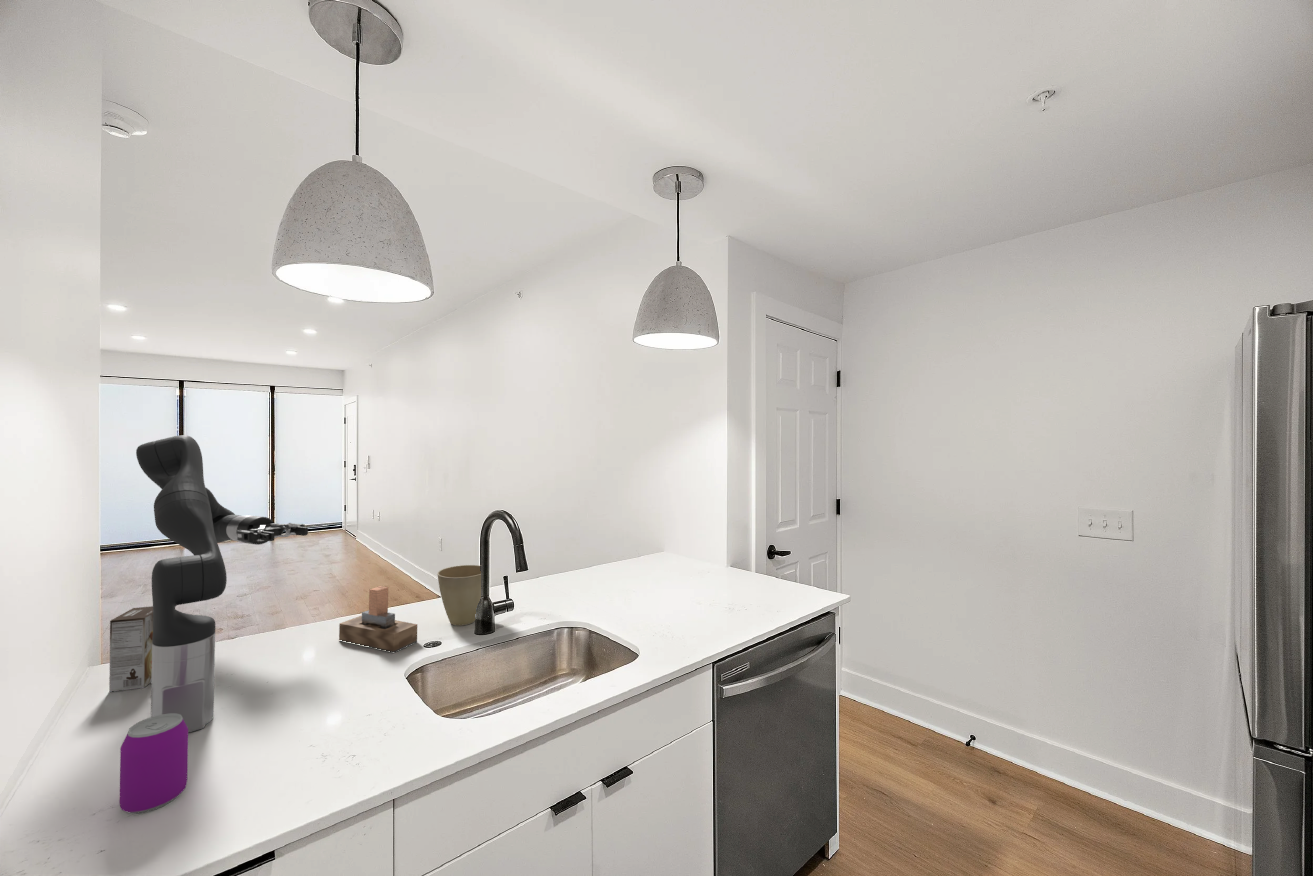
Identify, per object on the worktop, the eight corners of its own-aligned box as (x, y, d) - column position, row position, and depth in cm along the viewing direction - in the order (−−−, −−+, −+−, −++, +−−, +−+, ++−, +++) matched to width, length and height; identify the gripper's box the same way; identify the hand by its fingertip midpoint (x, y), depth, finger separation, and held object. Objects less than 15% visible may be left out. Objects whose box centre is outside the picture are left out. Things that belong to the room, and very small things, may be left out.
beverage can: (104, 813, 78) (106, 734, 78) (160, 780, 86) (162, 708, 86) (146, 820, 77) (148, 740, 77) (200, 786, 85) (201, 713, 85)
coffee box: (131, 674, 122) (133, 607, 122) (166, 670, 125) (167, 604, 125) (107, 693, 114) (109, 620, 114) (145, 688, 116) (146, 617, 116)
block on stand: (395, 640, 145) (396, 588, 145) (384, 644, 141) (385, 591, 141) (371, 635, 148) (372, 584, 148) (360, 639, 144) (361, 588, 144)
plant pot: (451, 612, 169) (452, 563, 169) (494, 614, 168) (495, 566, 168) (426, 629, 154) (427, 576, 154) (474, 632, 153) (475, 578, 153)
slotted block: (417, 642, 145) (417, 624, 145) (393, 653, 137) (393, 634, 137) (364, 631, 152) (364, 614, 152) (339, 641, 144) (339, 623, 144)
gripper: (221, 519, 136) (261, 523, 130) (278, 512, 149) (316, 516, 143) (220, 548, 136) (261, 553, 130) (277, 538, 149) (316, 543, 143)
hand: (290, 534), depth 136 cm, fingers open, 8 cm apart
